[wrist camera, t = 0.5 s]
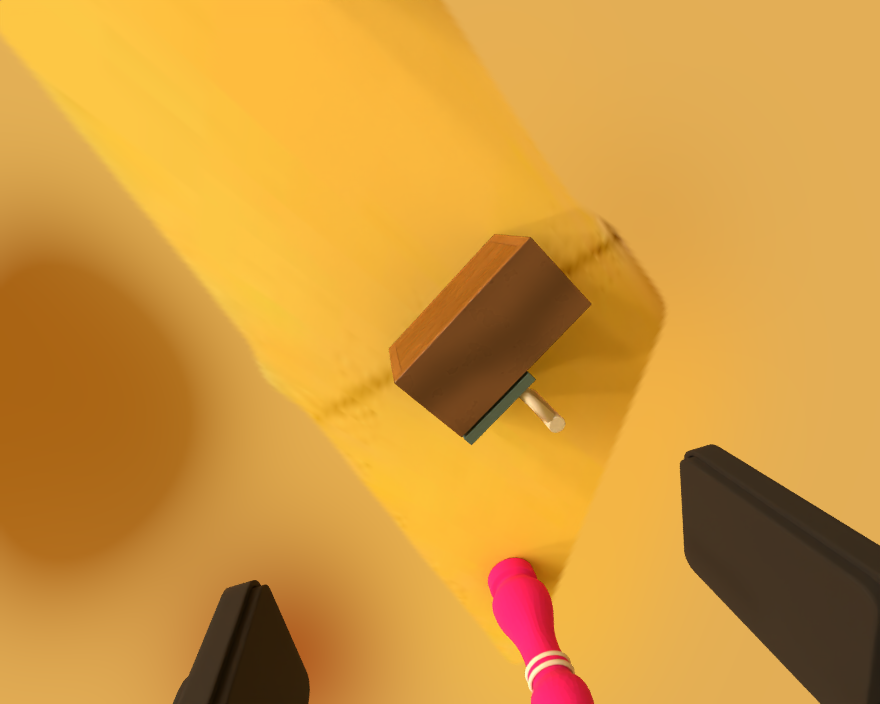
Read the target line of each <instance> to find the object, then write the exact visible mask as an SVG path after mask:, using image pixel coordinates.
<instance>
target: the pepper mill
mask: <svg viewBox="0 0 880 704" xmlns="http://www.w3.org/2000/svg"><path fill="white" fill-rule="evenodd" d="M488 585H489V588H490V591H491V594H492V597H493V604H492V605H493V613H494V616H495V618H496V620H497V623H498V624H499V626H500V627H501V629H502V630H503V632H504V633H505V634H506V635H507V636H508V637H509V638H510V639H511V640H512V641H513V643H514V644H515V645H516V646H517V648H518V649H519V651H520V653H521V655H522V657H523V659H524V661H525V665H526V670H525V677H526V680H527V682H528V686H529V689H530V691H531V692H532V697H531V704H594V701H593V698H592V696H591V693H590V690H589V689H588V687H587V685H586V684H585V682H584V681H583V680H582V679H581V678H580V677H578V676H577V675H575V672H574V668H573V666H572V665H571V662H570V659H569V657H568V656H567V655H566V654H565V653H562V652H561V650H560V648H559V646H558V643H557V640H556V637H555V632H554V617H553V606H552V601H551V598H550V595H549V593H548V590H547V589H546V587H545V585H544V584H543V583H542V582H540V581H539V580H537V577H536V574H535V572H534V570H533V568H532V566H531V565H530V563H529V562H527V561H526V560H524V559H520V558H509V559H506V560H503V561H501V562H499V563H498V564H497V565H496V566H495V567H494V568H493V569H492V570H491V572H490V574H489V577H488Z"/></svg>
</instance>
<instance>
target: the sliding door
mask: <svg viewBox="0 0 880 704" xmlns="http://www.w3.org/2000/svg"><path fill="white" fill-rule="evenodd" d="M535 380H536V379H535V378H534V377H533V376H532V375H531V374H530V373H529V372H528V371H526V372H525V373H524V374H523V375H522V376H521V377H520V378H519V379H518V380H517V381H516V382H515V383H514V384H513V385H512V386H511V387H510V388H509V390H508V391H507V392H506V393H505V394H504V395H503V396H502V397H501V398H500V399H499V400H498V401H497V402H496V403H495V404H494V405H493V406H492V407H491V408H490V409H489V410H488V411H487V412H486V413H485V414H484V415H483V416H482V417H481V418H480V419H479V420H478V421H477V422H476V423H475V424H474V425H473V426H472V427H471V428H470V430H469V431H468V432H467V433H466V434H465V435H464V436H463V438H464V439H465V440H466V441H467V442H468V443H470V444H471V445H472V444H473V443H474V442H475V441H476V440H477V439H478V438H479V437H480V436H481V435H482V434H483V433H484V432H485V431H486V430H487V429H488V428H489V427H490V426H491V425H492V424H493V423H494V422H495V421H496V420H497V419H498V418H499V417H500V416H501V415H502V414H503V413H504V412H505V411H506V410H507V409H508V408H509V407H510V406H511V405H512V404H513V403H514V402H515V400H516V399H517V398H518V397H519V398H520V399H522V400H523V401H524V402H525V403H526V404H527V405H528V406H529V407H530V408H531V409H532V410H533V411H534V412H535V413H536V414H537V416H538V417H539V418H540V419H541V420H542V421H543V422H544V424H545V425H546V426H547V427H548V428H549V429H550V430H551V431H552V432H555V433H557V432H560V431H562V430H563V429H564V427H565V420H564V419H563V418H562V417H561V416H560V415H559V414H558V413H557V412H556V411H555V410H554V409H553V408H552V407H551V406H550V405H549V404H548V403H547V402H546V401H545V400H544V399H543V398H542V397H541V396H540V395H539V394H538V393H537V392H536V391H535V390H534V389H529V388H528V387H529V386H530V385H531V384H532V383H533V382H534V381H535Z"/></svg>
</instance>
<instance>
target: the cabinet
mask: <svg viewBox="0 0 880 704" xmlns="http://www.w3.org/2000/svg"><path fill="white" fill-rule="evenodd" d="M590 305H591V303H590V302H589V301H588V300H587V299H586V297H585V296H584V295H583V294H582V293H581V292H580V291H579V290H578V289H577V288H576V287H575V285H574V284H573V283H572V282H571V281H570V280H569V279H568V278H567V277H566V276H565V274H564V273H563V272H562V271H561V270H560V269H559V268H558V267H557V266H556V265H555V263H554V262H553V261H552V260H551V259H550V258H549V257H548V256H547V255H546V254H545V252H544V251H543V250H542V249H541V248H540V247H539V246H538V245H537V244H536V243H535V241H534V240H533V239H532V238H531V237H520V236H509V235H497V234H494V235H493V236H492V237H491V238H490V240H489V241H488V242H487V243H486V244H485V245H484V246H483V247H482V248H481V249H480V250H479V252H478V253H477V254H476V255H475V256H474V257H473V258H472V259H471V260H470V261H469V262H468V263H467V265H466V266H465V267H464V268H463V269H462V270H461V271H460V272H459V273H458V274H457V275H456V277H455V278H454V279H453V280H452V281H451V282H450V283H449V284H448V285H447V286H446V287H445V288H444V290H443V291H442V292H441V293H440V294H439V295H438V296H437V297H436V298H435V299H434V300H433V302H432V303H431V304H430V305H429V306H428V307H427V308H426V309H425V310H424V311H423V312H422V313H421V315H420V316H419V317H418V318H417V319H416V320H415V321H414V322H413V323H412V324H411V325H410V327H409V328H408V329H407V330H406V331H405V332H404V333H403V334H402V335H401V336H400V337H399V338H398V340H397V341H396V342H395V343H394V344H393V345H392V346H391V347H390V348H389V353H390V360H391V366H392V372H393V378H394V383H395V384H396V385H397V386H398V387H400V388H401V389H402V390H403V391H405V392H406V393H407V394H408V395H410V396H411V397H412V398H413V399H415V400H416V401H417V402H418V403H419V404H421V405H422V406H423V407H424V408H426V409H427V410H428V411H429V412H431V413H432V414H433V415H434V416H436V417H437V418H438V419H439V420H441V421H442V422H443V423H444V424H446V425H447V426H448V427H449V428H451V429H452V430H453V431H454V432H456V433H457V434H458V435H459V436H461V437H463V436H464V435H465V434H466V433H467V432H468V431H469V430H470V428H471V427H472V426H473V425H474V424H475V423H476V422H477V421H478V420H479V419H480V418H481V417H482V416H483V415H484V414H485V413H486V412H487V411H488V410H489V409H490V408H491V407H492V406H493V405H494V404H495V403H496V402H497V401H498V400H499V399H500V398H501V397H502V396H503V395H504V394H505V393H506V392H507V391H508V390H509V388H510V387H511V386H512V385H513V384H514V383H515V382H516V381H517V380H518V379H519V378H520V377H521V376H522V375H523V374H524V373H525V372H526V371H527V370H528V369H529V368H530V367H531V366H532V365H533V364H534V363H535V362H536V361H537V360H538V359H539V358H540V357H541V356H542V355H543V354H544V353H545V352H546V351H547V350H548V348H549V347H550V346H551V345H552V344H553V343H554V342H555V341H556V340H557V339H558V338H559V337H560V336H561V335H562V334H563V333H564V332H565V331H566V330H567V329H568V328H569V327H570V326H571V325H572V324H573V323H574V322H575V321H576V320H577V319H578V318H579V317H580V316H581V315H582V314H583V313H584V312H585V311H586V310H587V308H588V307H589V306H590Z"/></svg>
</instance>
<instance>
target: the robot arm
mask: <svg viewBox="0 0 880 704" xmlns="http://www.w3.org/2000/svg"><path fill="white" fill-rule="evenodd" d="M680 476H681V477H680V478H681V495H682V515H683V534H684V552H685V556H686V559H687V561H688V563H689V565H690V567H691V568H692V569H693V570H694V572H695V573H696V574H697V575H698V576H699V577H700V578H701V579H702V580H703V581H704V582H705V583H706V584H707V585H708V586H709V587H710V588H711V589H712V590H713V591H714V593H715V594H716V595H717V596H718V597H719V598H720V599H721V600H722V601H723V602H724V603H725V604H726V605H727V606H728V607H729V608H730V609H731V610H732V611H733V612H734V614H735V615H736V616H737V617H738V618H739V619H740V620H741V621H742V622H743V623H744V624H745V625H746V626H747V627H748V628H749V629H750V630H751V631H752V632H753V633H754V634H755V636H756V637H758V639H759V640H760V641H761V642H762V643H763V644H764V645H765V646H766V647H767V648H768V649H769V650H770V651H771V652H772V653H773V654H774V655H775V656H776V657H777V658H778V660H780V662H781V663H782V664H783V665H784V666H785V667H786V668H787V669H788V670H789V671H790V672H791V673H792V674H793V675H794V676H795V677H796V678H797V680H799V682H800V683H801V684H802V685H803V686H804V687H805V688H806V689H807V690H808V691H809V692H810V693H811V694H812V695H813V696H814V697H815V698H816V699H817V700H818V701H819V702H820V704H880V546H879V545H878V544H876V543H875V542H873V541H871V540H870V539H868V538H866V537H865V536H863V535H862V534H860V533H858V532H857V531H855V530H853V529H852V528H850V527H849V526H847V525H845V524H844V523H842V522H840V521H839V520H837V519H836V518H834V517H832V516H831V515H829V514H827V513H826V512H824V511H823V510H821V509H819V508H818V507H816V506H814V505H813V504H811V503H809V502H808V501H806V500H805V499H803V498H801V497H800V496H798V495H797V494H795V493H793V492H791V491H790V490H788V489H787V488H785V487H784V486H782V485H780V484H779V483H777V482H775V481H774V480H772V479H770V478H769V477H767V476H766V475H764V474H762V473H761V472H759V471H757V470H756V469H754V468H753V467H751V466H749V465H748V464H746V463H745V462H743V461H741V460H740V459H738V458H736V457H735V456H733V455H731V454H730V453H728V452H727V451H725V450H723V449H722V448H720V447H718V446H716V445H711V444H710V445H707V446H704V447H700V448H697V449H693V450H690V451H688V452H686V454H685V456H684V460H682V461H681V462H680ZM309 691H310V689H309V678H308V674H307V672H306V669H305V667H304V665H303V663H302V660H301V658H300V656H299V654H298V651H297V649H296V647H295V644H294V642H293V640H292V638H291V635H290V633H289V631H288V629H287V626H286V624H285V622H284V619H283V617H282V615H281V613H280V610H279V608H278V606H277V604H276V602H275V599H274V597H273V595H272V592H271V590H270V588H269V586H268V585H262V586H261V585H260V583H259V582H258V581H256V580H253V581H249V582H246V583H243V584H239V585H236V586H233V587H229V588H227V589H226V590H225V591H224V592H223V594H222V596H221V599H220V601H219V604H218V606H217V608H216V611H215V614H214V616H213V618H212V620H211V623H210V625H209V628H208V630H207V633H206V635H205V637H204V640H203V643H202V645H201V647H200V650H199V652H198V654H197V657H196V660H195V662H194V664H193V667H192V669H191V671H190V674H189V676H188V677H187V678H186V679H185V680H184V681H183V683H182V685H181V687H180V688H179V690H178V692H177V695H176V697H175V700H174V702H173V704H308V702H309Z"/></svg>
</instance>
